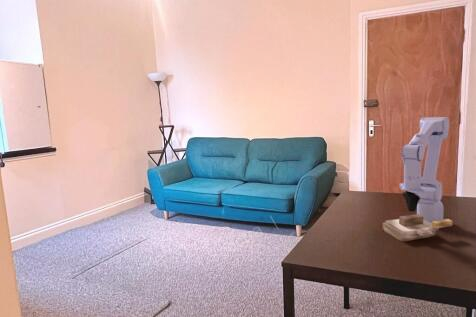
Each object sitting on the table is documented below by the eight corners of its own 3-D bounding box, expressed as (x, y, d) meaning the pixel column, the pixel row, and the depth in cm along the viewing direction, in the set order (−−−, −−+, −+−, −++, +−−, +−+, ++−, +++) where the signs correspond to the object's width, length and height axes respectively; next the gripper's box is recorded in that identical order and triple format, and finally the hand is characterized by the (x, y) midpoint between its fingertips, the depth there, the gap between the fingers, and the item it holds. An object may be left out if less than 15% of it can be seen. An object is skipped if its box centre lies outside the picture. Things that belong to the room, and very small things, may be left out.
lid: (417, 219, 138) (417, 209, 138) (444, 232, 124) (444, 222, 123) (385, 223, 137) (385, 213, 136) (409, 237, 122) (409, 227, 121)
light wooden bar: (448, 224, 128) (448, 218, 128) (452, 225, 126) (452, 220, 126) (431, 226, 127) (431, 221, 126) (435, 228, 125) (436, 223, 125)
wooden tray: (413, 225, 140) (413, 218, 139) (435, 236, 128) (435, 228, 128) (382, 230, 137) (382, 223, 137) (402, 241, 126) (402, 234, 125)
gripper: (392, 173, 135) (392, 205, 137) (413, 181, 121) (412, 218, 123) (409, 171, 135) (409, 204, 138) (432, 180, 121) (431, 216, 123)
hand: (411, 210), depth 130 cm, fingers closed
